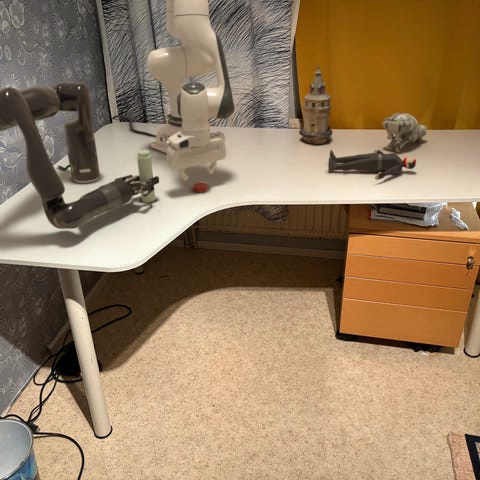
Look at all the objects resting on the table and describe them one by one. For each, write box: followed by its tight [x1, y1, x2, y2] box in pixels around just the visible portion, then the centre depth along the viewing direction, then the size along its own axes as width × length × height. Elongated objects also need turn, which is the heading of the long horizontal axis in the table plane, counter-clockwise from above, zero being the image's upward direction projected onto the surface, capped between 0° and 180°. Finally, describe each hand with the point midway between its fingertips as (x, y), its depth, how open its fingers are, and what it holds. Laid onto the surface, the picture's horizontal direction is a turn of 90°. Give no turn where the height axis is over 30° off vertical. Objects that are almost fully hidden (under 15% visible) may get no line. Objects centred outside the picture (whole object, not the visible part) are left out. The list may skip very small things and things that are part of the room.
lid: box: [192, 181, 208, 193], centre depth 179 cm, size 5×5×2 cm
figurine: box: [381, 112, 428, 153], centre depth 209 cm, size 10×19×20 cm
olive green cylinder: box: [136, 149, 156, 203], centre depth 169 cm, size 4×4×16 cm
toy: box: [327, 149, 417, 181], centre depth 190 cm, size 26×6×30 cm
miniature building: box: [298, 65, 333, 145], centre depth 213 cm, size 13×14×30 cm
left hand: (152, 177), depth 171 cm, fingers closed on olive green cylinder, 4 cm apart
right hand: (198, 176), depth 177 cm, fingers open, 8 cm apart
